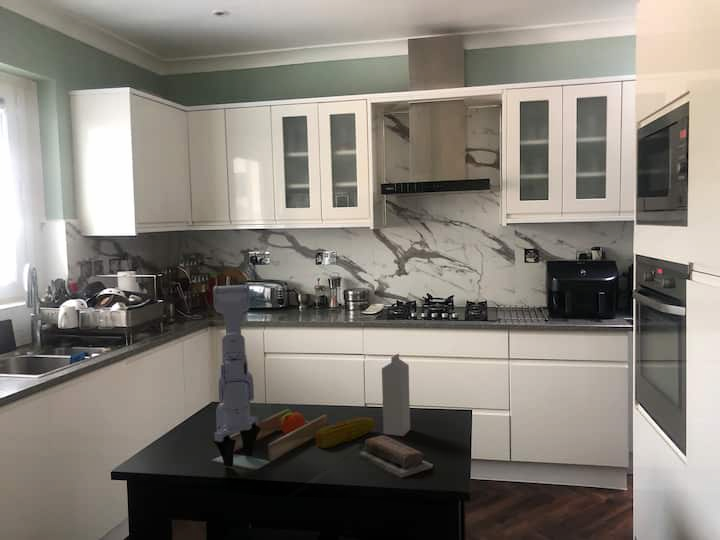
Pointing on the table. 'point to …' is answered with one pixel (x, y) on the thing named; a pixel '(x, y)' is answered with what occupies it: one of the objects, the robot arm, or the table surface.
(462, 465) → the table surface
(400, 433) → the milk
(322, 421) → the crate
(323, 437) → the food
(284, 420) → the clementine
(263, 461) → the panel
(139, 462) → the table surface
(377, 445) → the packaged product
